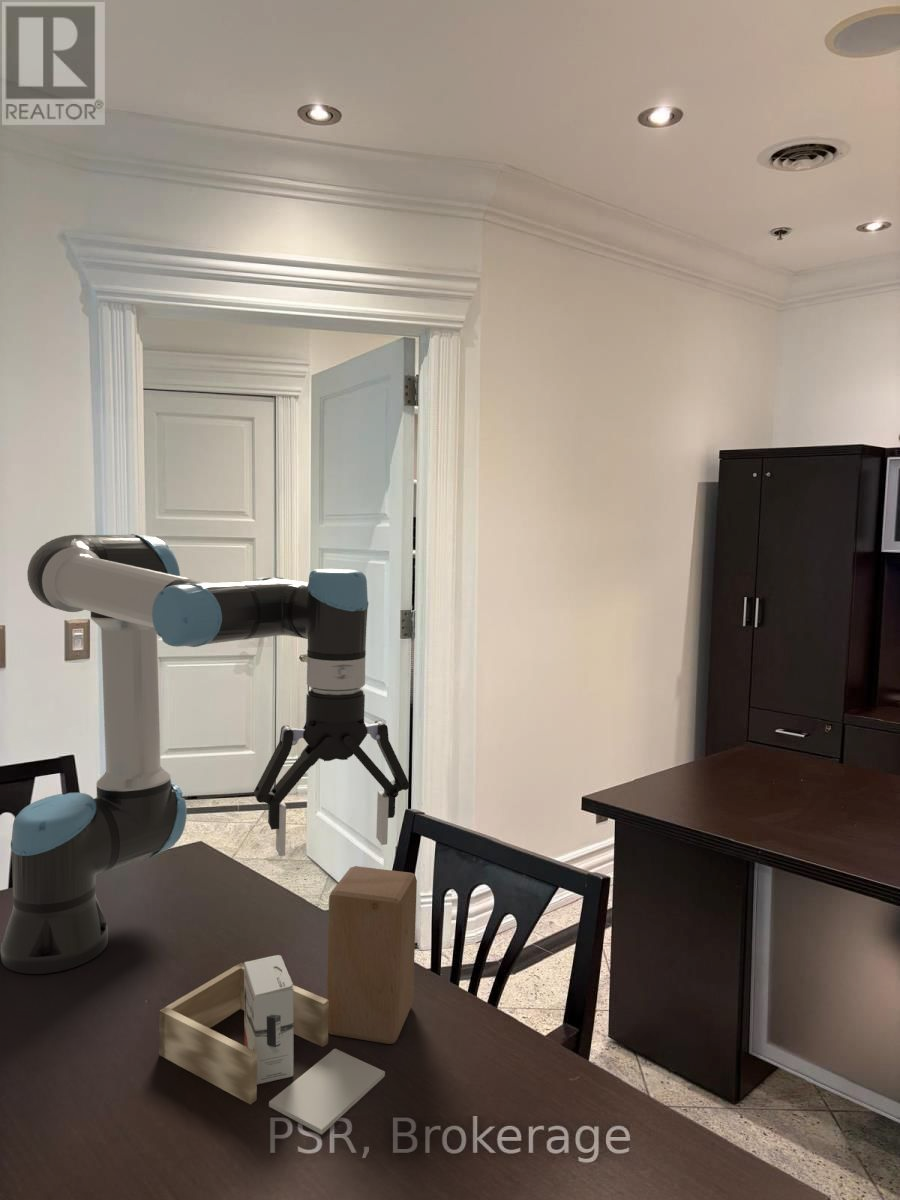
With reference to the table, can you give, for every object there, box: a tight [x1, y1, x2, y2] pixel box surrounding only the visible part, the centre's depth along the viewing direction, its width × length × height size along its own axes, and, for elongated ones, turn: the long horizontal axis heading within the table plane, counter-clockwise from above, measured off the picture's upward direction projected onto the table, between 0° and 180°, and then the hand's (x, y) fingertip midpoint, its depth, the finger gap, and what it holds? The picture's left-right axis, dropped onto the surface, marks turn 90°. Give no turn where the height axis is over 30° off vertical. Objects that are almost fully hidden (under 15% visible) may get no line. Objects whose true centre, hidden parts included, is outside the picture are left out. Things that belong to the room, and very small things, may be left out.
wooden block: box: [326, 865, 418, 1045], centre depth 115 cm, size 10×10×20 cm
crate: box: [158, 962, 329, 1105], centre depth 108 cm, size 16×14×6 cm
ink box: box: [243, 954, 295, 1085], centre depth 106 cm, size 8×5×12 cm, turn 23°
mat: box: [268, 1048, 386, 1136], centre depth 101 cm, size 8×12×1 cm, turn 148°
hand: (332, 846), depth 111 cm, fingers open, 13 cm apart
